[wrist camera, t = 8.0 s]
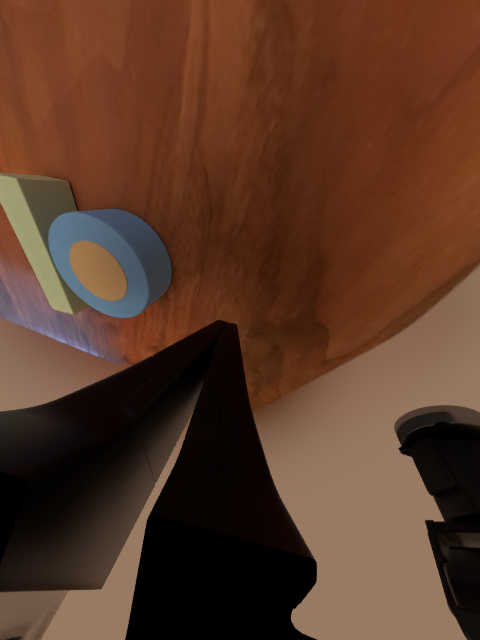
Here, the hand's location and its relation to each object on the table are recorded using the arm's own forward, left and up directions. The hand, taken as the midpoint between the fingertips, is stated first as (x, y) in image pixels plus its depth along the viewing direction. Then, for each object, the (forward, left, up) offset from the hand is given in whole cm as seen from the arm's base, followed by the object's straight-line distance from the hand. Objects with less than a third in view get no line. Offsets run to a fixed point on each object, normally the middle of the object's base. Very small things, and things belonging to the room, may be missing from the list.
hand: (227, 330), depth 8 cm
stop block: (+14, +1, -6) cm, 16 cm away
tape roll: (+10, +1, -6) cm, 12 cm away
